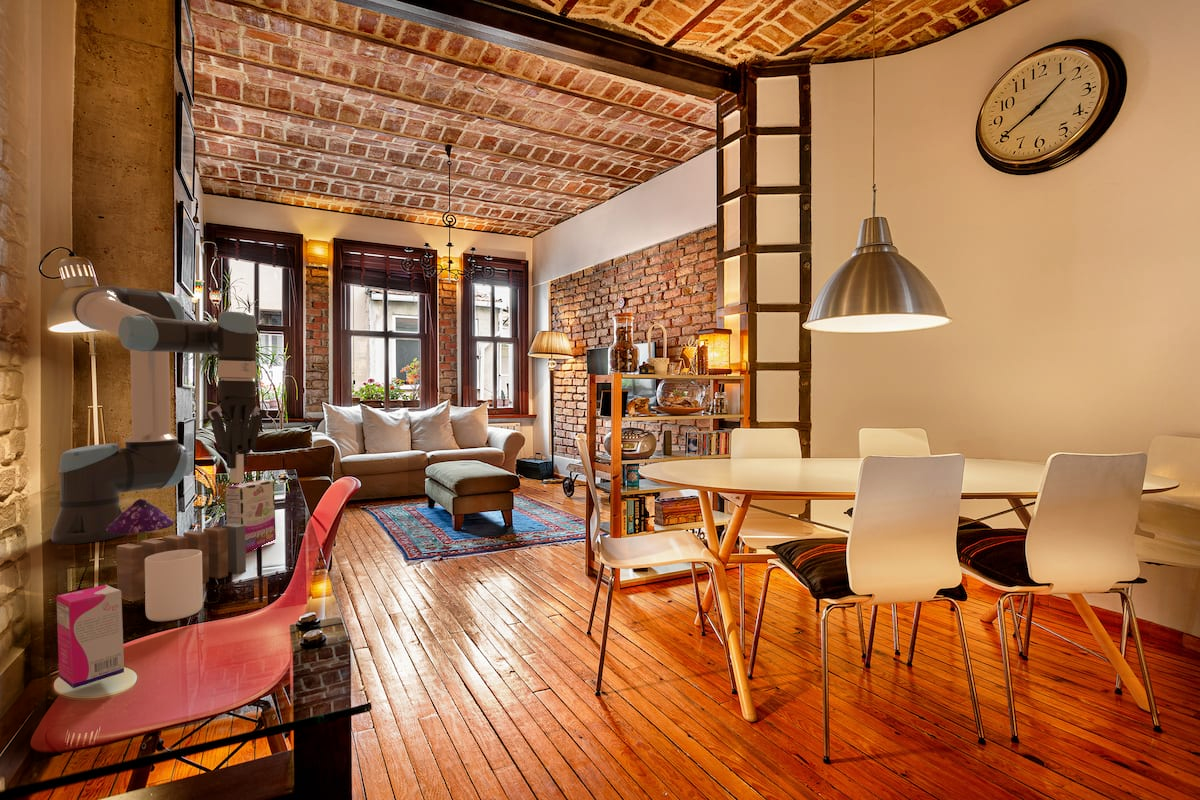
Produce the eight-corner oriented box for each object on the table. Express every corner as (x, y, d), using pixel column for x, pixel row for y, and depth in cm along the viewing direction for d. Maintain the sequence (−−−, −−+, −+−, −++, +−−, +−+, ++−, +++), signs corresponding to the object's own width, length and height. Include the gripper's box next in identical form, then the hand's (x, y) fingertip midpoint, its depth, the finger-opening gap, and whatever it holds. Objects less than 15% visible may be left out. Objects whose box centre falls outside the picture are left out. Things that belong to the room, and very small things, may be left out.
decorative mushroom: (133, 575, 132) (131, 504, 132) (92, 570, 136) (91, 502, 135) (188, 559, 144) (187, 495, 143) (149, 555, 147) (148, 493, 147)
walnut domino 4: (198, 584, 125) (198, 535, 125) (184, 580, 127) (183, 532, 127) (208, 581, 127) (208, 533, 127) (194, 578, 129) (193, 530, 129)
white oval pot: (143, 606, 112) (142, 550, 112) (197, 597, 117) (197, 543, 117) (146, 626, 102) (145, 564, 102) (205, 614, 108) (204, 555, 107)
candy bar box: (259, 543, 159) (258, 479, 159) (276, 543, 158) (275, 480, 158) (225, 554, 148) (224, 486, 148) (243, 555, 147) (242, 486, 147)
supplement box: (109, 662, 89) (107, 583, 88) (125, 672, 85) (123, 590, 85) (57, 677, 84) (55, 594, 84) (71, 689, 80) (70, 602, 80)
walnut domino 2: (155, 595, 118) (155, 543, 118) (141, 592, 120) (140, 541, 120) (167, 592, 120) (166, 541, 120) (152, 589, 122) (151, 538, 122)
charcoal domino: (237, 573, 132) (236, 527, 132) (222, 570, 134) (221, 525, 134) (245, 571, 134) (245, 525, 134) (231, 568, 136) (230, 523, 136)
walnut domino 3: (177, 589, 121) (177, 539, 121) (163, 586, 124) (162, 536, 124) (188, 587, 123) (187, 537, 123) (173, 583, 125) (173, 534, 125)
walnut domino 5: (218, 578, 129) (217, 530, 128) (204, 575, 131) (203, 528, 131) (228, 576, 130) (227, 529, 130) (213, 573, 133) (212, 526, 133)
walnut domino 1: (132, 602, 114) (131, 548, 114) (117, 598, 117) (116, 545, 116) (144, 599, 116) (143, 546, 116) (129, 595, 118) (128, 543, 118)
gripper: (219, 379, 134) (218, 487, 135) (274, 380, 146) (273, 479, 147) (198, 379, 137) (197, 484, 138) (253, 379, 149) (252, 476, 150)
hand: (236, 481), depth 142 cm, fingers closed
